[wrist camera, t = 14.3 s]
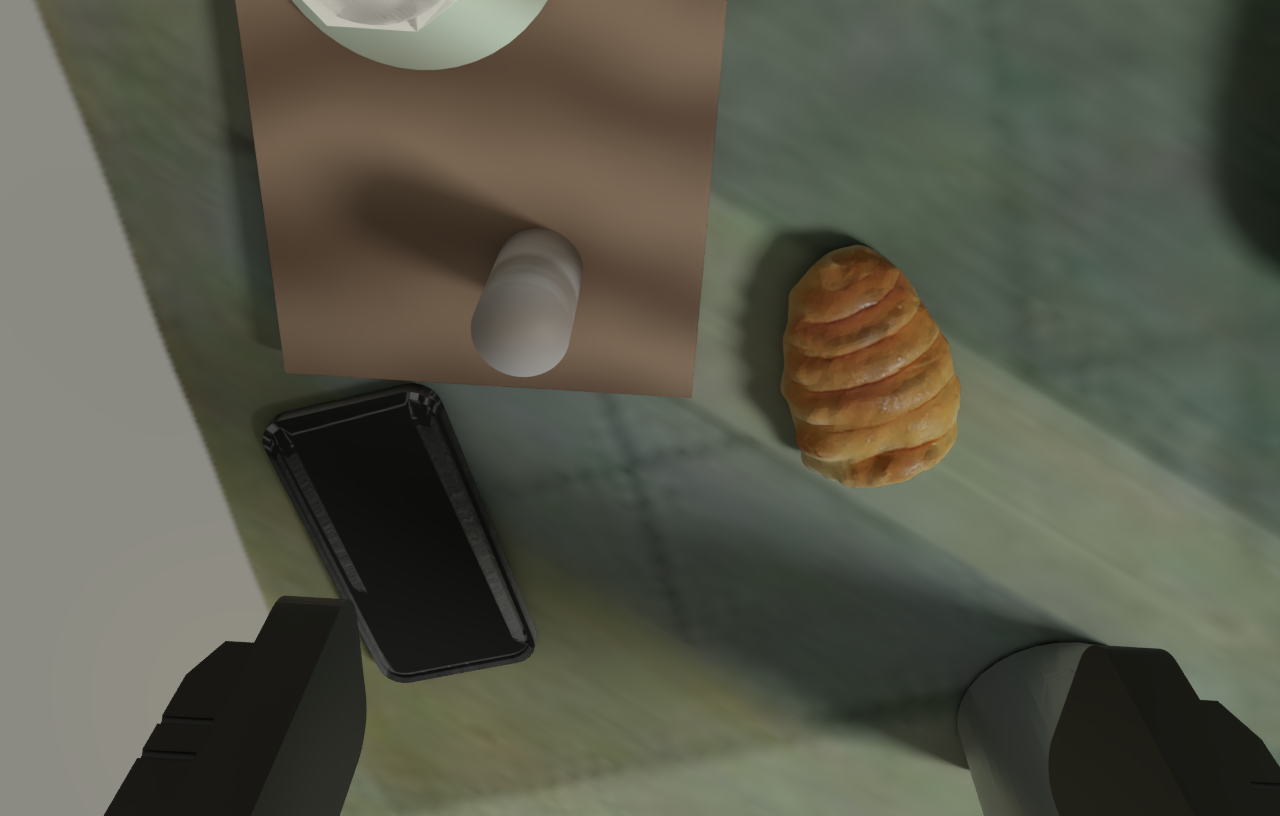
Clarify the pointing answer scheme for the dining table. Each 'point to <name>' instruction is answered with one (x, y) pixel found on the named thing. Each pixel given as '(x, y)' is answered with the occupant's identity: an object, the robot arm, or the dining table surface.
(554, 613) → the dining table surface
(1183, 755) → the robot arm
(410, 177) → the board
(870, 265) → the pastry
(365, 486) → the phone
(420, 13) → the cap
